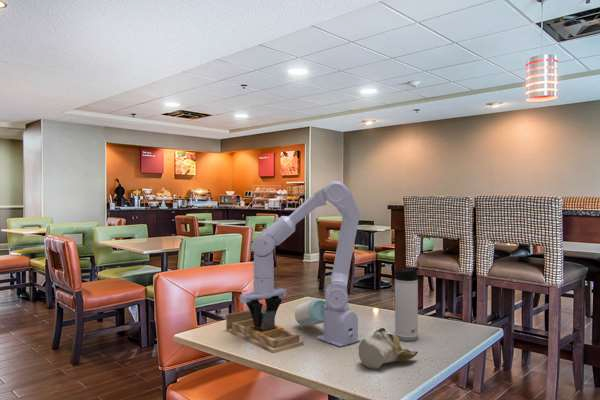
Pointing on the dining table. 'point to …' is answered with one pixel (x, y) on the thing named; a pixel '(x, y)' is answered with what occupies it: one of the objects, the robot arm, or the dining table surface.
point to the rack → (260, 333)
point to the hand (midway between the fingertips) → (263, 324)
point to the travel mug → (406, 304)
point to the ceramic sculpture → (382, 350)
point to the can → (310, 312)
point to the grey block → (266, 320)
